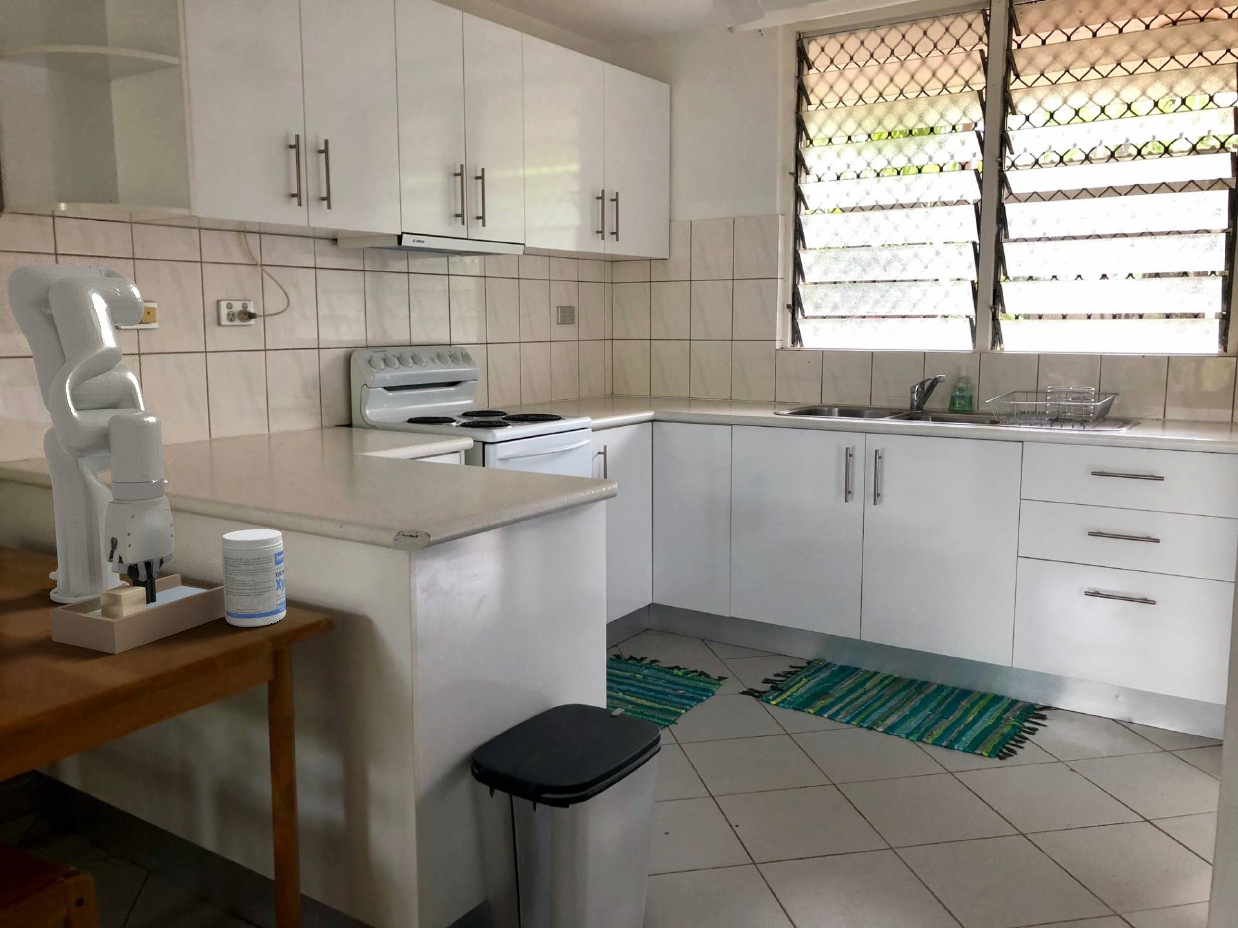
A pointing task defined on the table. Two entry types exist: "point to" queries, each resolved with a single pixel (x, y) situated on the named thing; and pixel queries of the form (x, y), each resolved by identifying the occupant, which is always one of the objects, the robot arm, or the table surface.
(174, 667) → the table surface
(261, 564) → the supplement tub
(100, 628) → the box
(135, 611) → the maple block
